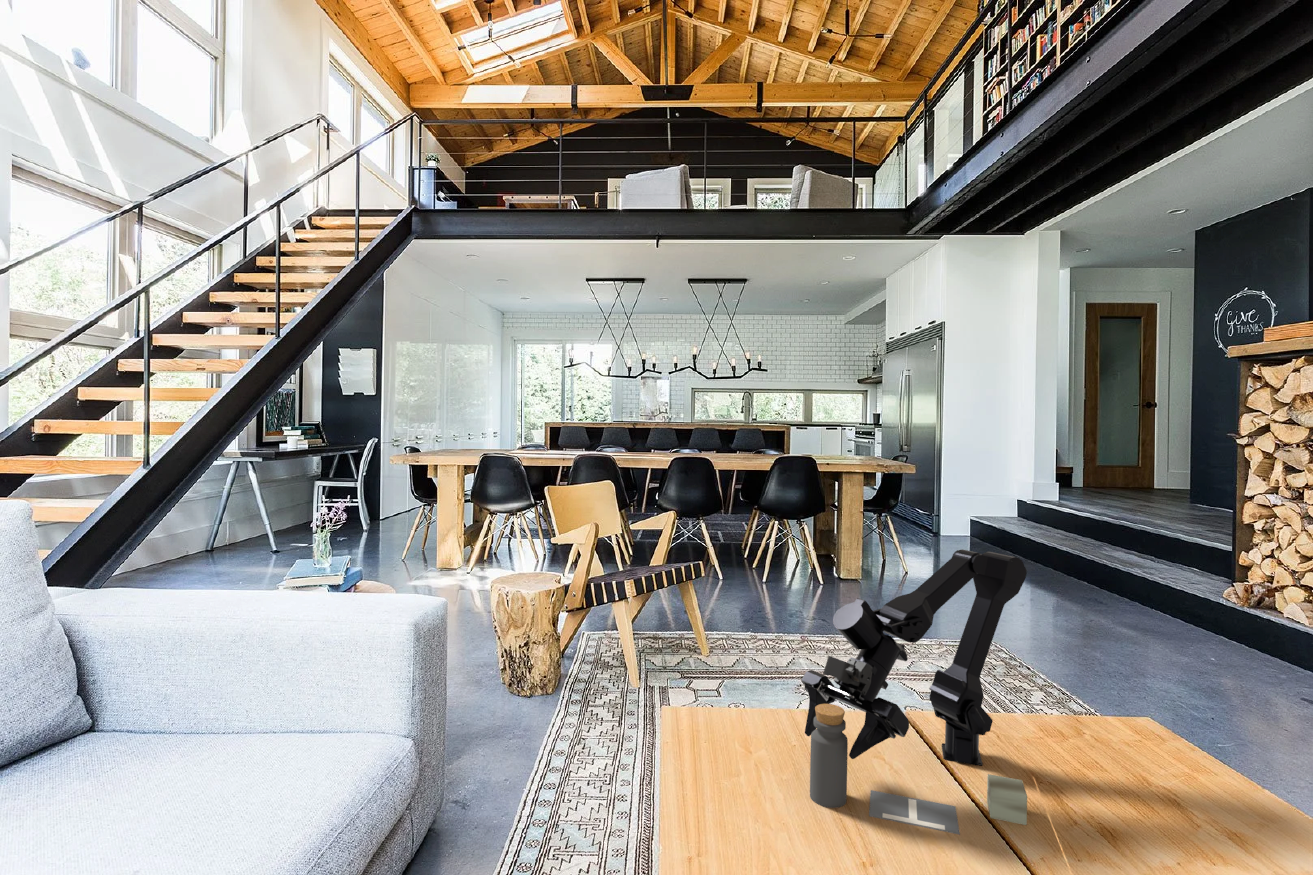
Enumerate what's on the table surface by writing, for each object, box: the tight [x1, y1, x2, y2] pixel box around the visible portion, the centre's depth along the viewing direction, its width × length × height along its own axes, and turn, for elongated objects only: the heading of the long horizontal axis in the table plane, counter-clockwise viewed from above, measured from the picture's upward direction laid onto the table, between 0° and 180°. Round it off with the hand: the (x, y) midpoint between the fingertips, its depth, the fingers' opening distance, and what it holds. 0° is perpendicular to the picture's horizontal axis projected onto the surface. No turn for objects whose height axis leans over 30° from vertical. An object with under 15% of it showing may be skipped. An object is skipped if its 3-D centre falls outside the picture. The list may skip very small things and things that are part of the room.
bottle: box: [809, 703, 849, 809], centre depth 109 cm, size 6×6×15 cm
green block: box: [986, 773, 1028, 826], centre depth 106 cm, size 5×5×5 cm
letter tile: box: [868, 789, 961, 836], centre depth 106 cm, size 8×13×1 cm, turn 70°
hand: (828, 745), depth 109 cm, fingers open, 9 cm apart
